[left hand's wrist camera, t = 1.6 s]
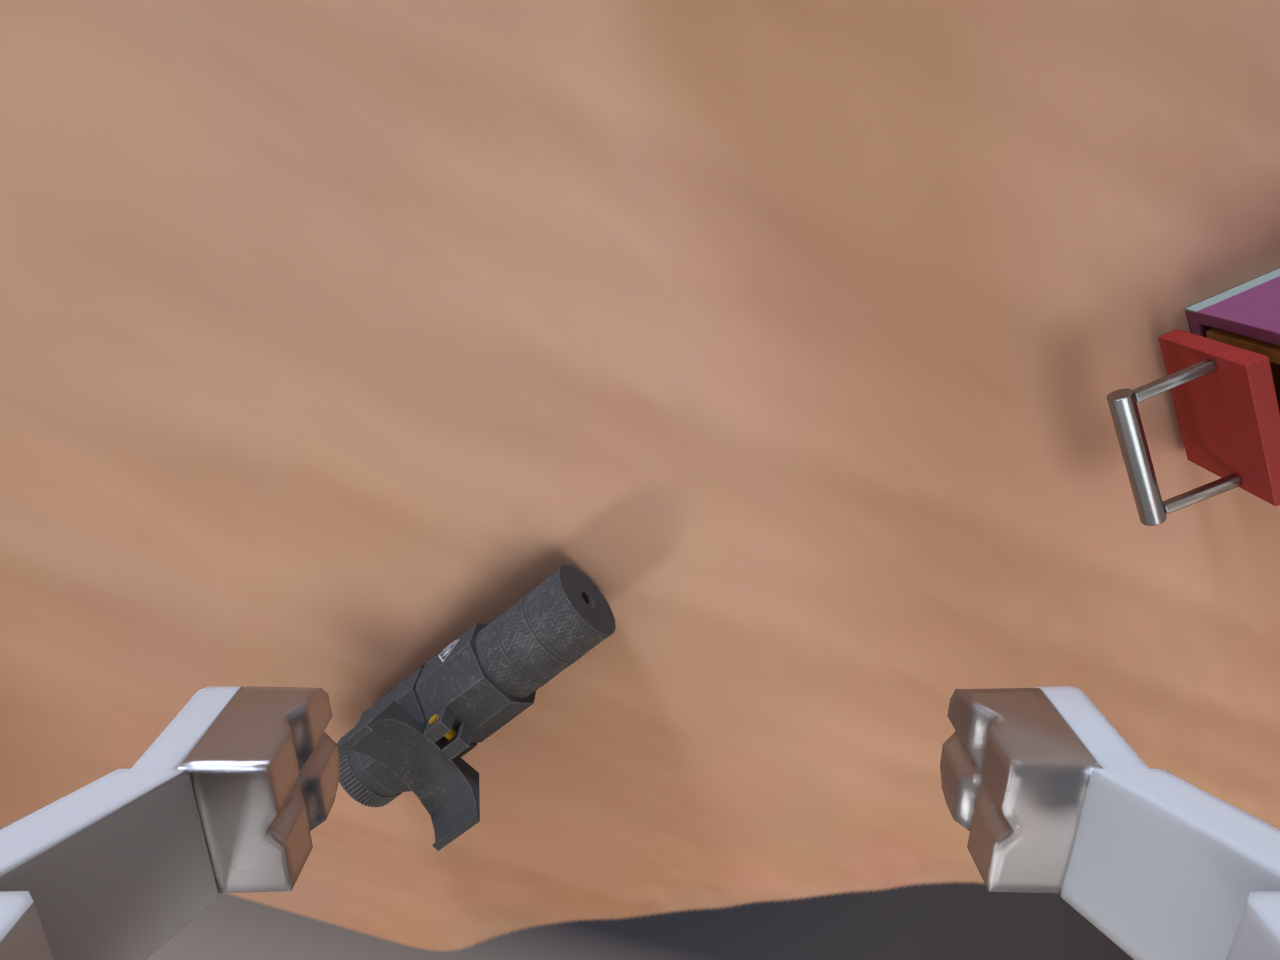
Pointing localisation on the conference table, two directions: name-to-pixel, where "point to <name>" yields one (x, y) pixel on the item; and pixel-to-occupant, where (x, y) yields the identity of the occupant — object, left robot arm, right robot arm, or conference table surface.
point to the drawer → (1208, 418)
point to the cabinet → (1242, 310)
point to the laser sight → (469, 701)
